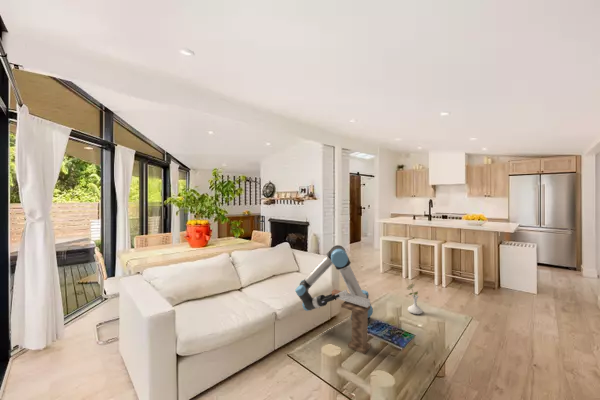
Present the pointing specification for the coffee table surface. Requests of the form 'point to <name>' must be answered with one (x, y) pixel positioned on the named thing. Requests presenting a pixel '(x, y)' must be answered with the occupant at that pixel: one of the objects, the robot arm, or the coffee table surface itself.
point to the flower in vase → (414, 307)
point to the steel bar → (353, 298)
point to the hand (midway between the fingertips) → (345, 292)
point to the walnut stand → (358, 327)
